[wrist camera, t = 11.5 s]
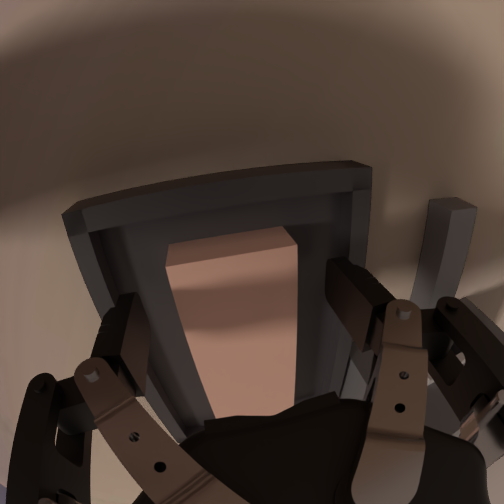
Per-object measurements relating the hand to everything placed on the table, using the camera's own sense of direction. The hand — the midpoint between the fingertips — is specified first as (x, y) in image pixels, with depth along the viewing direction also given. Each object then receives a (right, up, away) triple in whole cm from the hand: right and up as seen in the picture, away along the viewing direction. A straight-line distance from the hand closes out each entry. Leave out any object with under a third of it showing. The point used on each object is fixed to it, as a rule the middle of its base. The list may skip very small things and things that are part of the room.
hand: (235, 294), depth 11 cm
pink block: (0, -4, +4) cm, 5 cm away
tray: (0, -3, +5) cm, 6 cm away
